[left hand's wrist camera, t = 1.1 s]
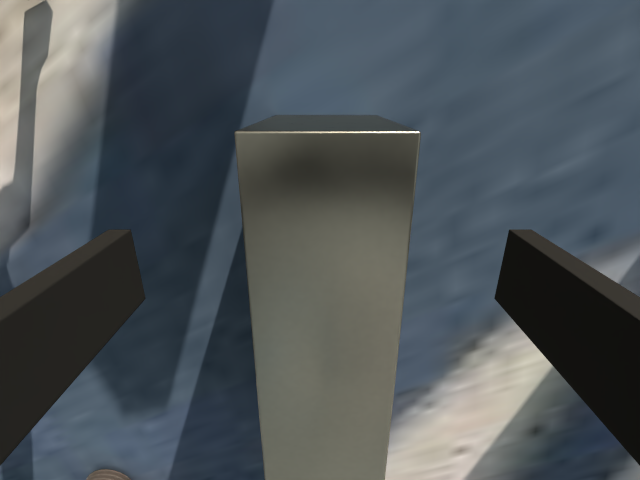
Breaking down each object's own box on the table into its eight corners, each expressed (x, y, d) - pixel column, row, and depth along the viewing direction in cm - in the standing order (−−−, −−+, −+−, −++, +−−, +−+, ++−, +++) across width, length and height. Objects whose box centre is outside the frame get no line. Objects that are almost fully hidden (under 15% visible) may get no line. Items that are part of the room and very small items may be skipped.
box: (274, 114, 21) (233, 130, 11) (377, 115, 21) (421, 131, 11) (287, 398, 29) (270, 541, 20) (361, 398, 29) (378, 543, 20)
